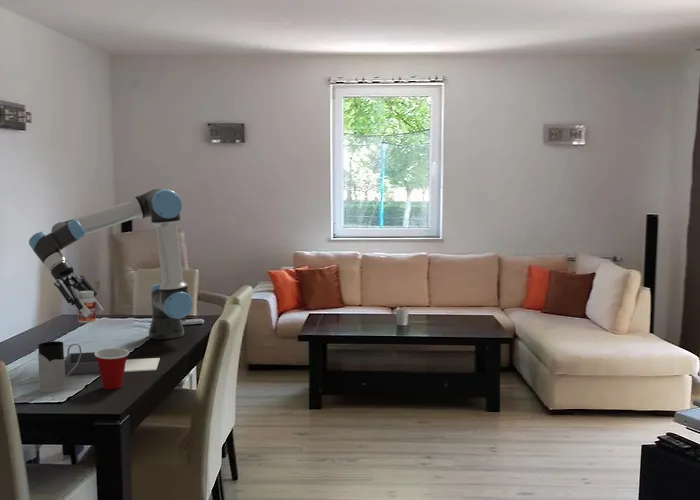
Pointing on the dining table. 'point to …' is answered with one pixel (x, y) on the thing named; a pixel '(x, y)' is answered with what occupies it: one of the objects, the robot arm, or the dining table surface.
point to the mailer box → (90, 366)
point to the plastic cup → (111, 366)
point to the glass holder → (53, 366)
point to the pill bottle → (90, 304)
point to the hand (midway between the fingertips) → (94, 313)
